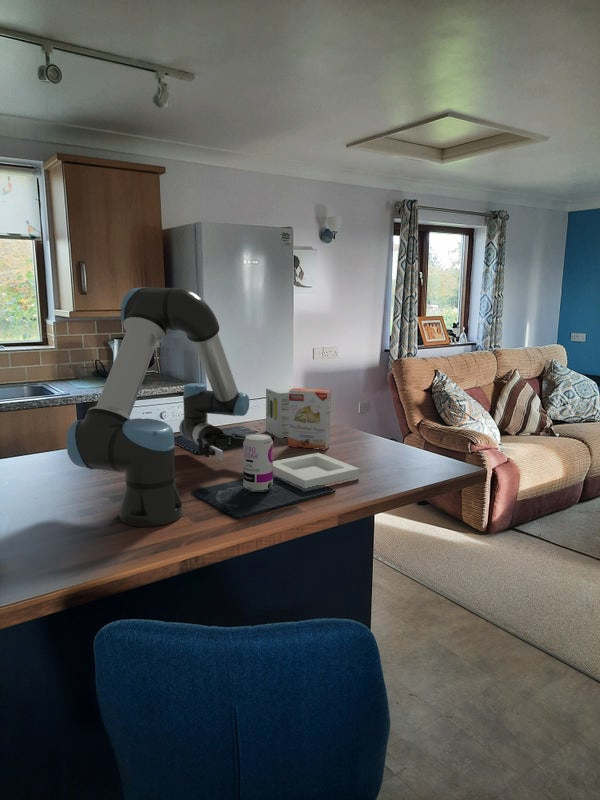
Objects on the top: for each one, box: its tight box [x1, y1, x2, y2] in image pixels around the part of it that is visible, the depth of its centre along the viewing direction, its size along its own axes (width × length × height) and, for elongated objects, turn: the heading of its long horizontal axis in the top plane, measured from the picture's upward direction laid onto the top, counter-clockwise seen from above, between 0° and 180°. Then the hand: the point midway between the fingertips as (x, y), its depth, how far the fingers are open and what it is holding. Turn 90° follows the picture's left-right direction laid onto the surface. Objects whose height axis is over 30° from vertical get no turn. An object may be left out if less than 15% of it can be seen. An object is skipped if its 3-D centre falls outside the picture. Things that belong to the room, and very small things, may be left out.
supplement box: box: [265, 385, 300, 439], centre depth 221 cm, size 13×13×18 cm
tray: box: [273, 452, 360, 488], centre depth 171 cm, size 20×20×4 cm
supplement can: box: [242, 433, 274, 490], centre depth 159 cm, size 8×8×15 cm
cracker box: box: [287, 387, 332, 450], centre depth 202 cm, size 14×6×21 cm, turn 73°
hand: (242, 452), depth 166 cm, fingers open, 13 cm apart
